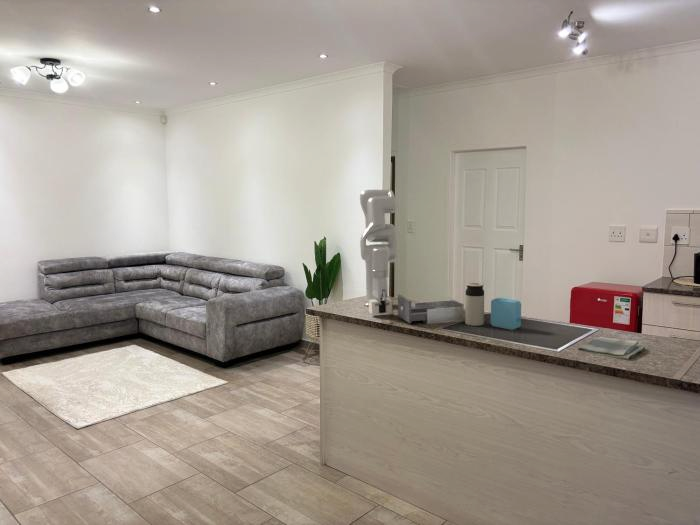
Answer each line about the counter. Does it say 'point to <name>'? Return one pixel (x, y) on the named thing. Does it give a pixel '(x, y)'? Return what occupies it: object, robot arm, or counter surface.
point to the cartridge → (375, 306)
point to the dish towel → (612, 347)
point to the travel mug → (474, 304)
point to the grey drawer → (411, 310)
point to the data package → (506, 313)
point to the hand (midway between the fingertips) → (380, 310)
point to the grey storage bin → (443, 311)
